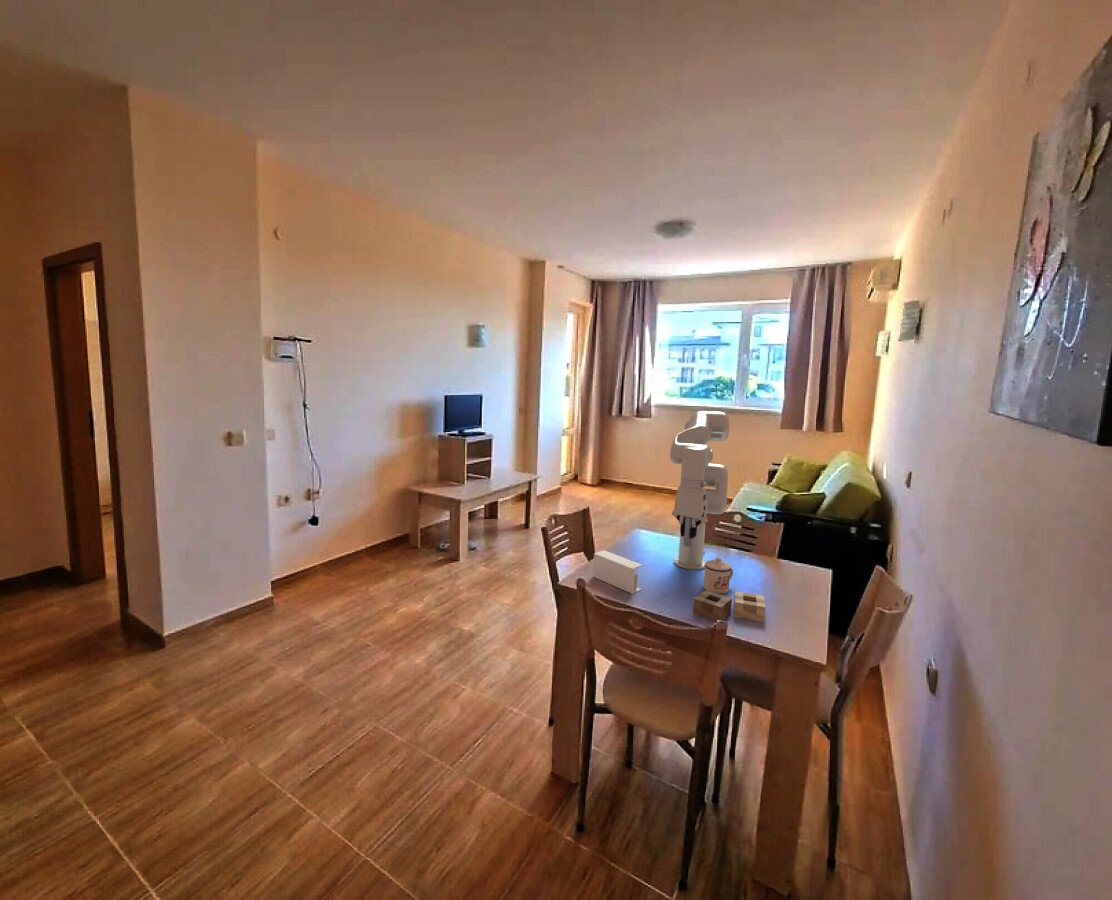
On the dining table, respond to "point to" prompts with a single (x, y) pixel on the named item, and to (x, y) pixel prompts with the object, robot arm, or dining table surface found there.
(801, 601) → the dining table surface
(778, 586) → the dining table surface
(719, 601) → the brown square-hole block
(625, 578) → the white channel beam
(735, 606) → the checkered wooden socket block
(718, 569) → the teacup with lid
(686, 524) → the needle dowel
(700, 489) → the robot arm
